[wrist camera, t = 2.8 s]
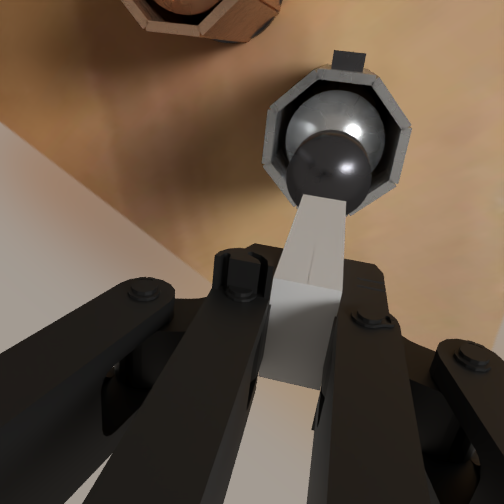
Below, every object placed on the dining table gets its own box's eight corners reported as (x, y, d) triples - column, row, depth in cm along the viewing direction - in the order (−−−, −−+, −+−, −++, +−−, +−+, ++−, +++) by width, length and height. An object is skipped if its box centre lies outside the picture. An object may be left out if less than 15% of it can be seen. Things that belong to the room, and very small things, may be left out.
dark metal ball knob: (281, 179, 32) (253, 231, 23) (293, 83, 30) (267, 97, 20) (372, 193, 32) (382, 253, 22) (394, 96, 29) (417, 116, 19)
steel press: (281, 161, 44) (254, 204, 31) (296, 47, 39) (271, 43, 27) (378, 175, 42) (390, 226, 30) (404, 58, 38) (432, 60, 26)
